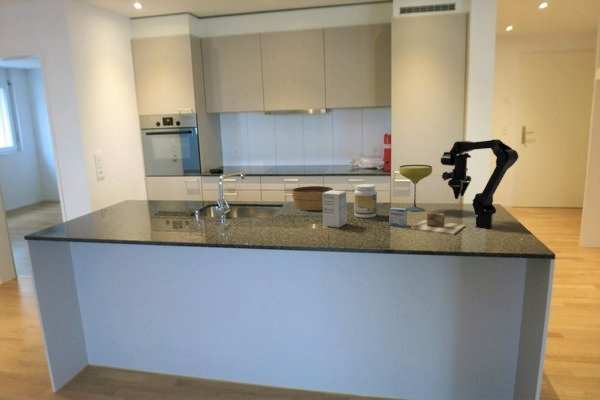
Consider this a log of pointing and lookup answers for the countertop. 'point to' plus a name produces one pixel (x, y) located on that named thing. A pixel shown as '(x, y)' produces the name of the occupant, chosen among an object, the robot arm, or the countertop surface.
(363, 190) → the supplement tub
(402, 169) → the cocktail glass
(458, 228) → the birch board
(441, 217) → the block
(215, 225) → the countertop surface
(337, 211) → the supplement box
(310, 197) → the steamer basket
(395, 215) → the medicine box
